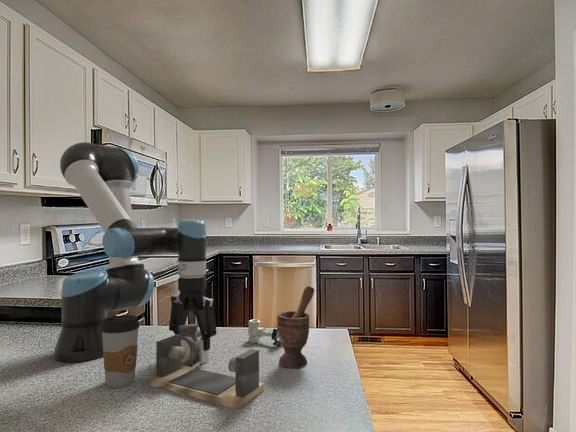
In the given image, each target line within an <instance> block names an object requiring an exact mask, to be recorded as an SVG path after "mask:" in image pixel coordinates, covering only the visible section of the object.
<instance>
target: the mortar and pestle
mask: <svg viewBox="0 0 576 432" xmlns="http://www.w3.org/2000/svg"><path fill="white" fill-rule="evenodd" d="M314 294H315V288H314V287H311V286H310V285H309V286H308V285H307V286H305V288H304V289H303V291H302V294H301V298H300V301H299V304H298V306H297V309H296V310H294V311H293V310H292V311H291V310H289V311H281V312H279V313H277V314H276V316H277V317H276V318H277V319H276V323H277V325H276V326H277V327H276V329H277V332H278V337H279V340H280V344H281V347H282V348H283V350H284V353H282V355H280V357H279V361H278V364H279V366H280V367H281V368H288V369H300V368H303V367H304V366H306V365H307V364H308V361H307V358H306V356H305V355H304V354H303V353H302V350H303V348H304V347H305V346H306V345H307V342H308V339H309V334H310V315H309V314H308V312H306V310H307V308H308V305H309V304H310V302H311V301H312V299H313V297H314Z"/></svg>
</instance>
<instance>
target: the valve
mask: <svg viewBox="0 0 576 432" xmlns="http://www.w3.org/2000/svg"><path fill="white" fill-rule="evenodd" d="M247 334H248V342H249V343H251V344H256V343H260V341H261V338H265V337H268V338H271V341H272V340H273V342H272V346H274V347H275V346H276V347H278V348H279V347H282V345H281V344H280V339H279V337H278V332H277V325H276V328H273V329H272V331H271V330H266V328H264V327H261V321H260V319H250V320H248V328H247ZM278 339H279V340H278Z"/></svg>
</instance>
